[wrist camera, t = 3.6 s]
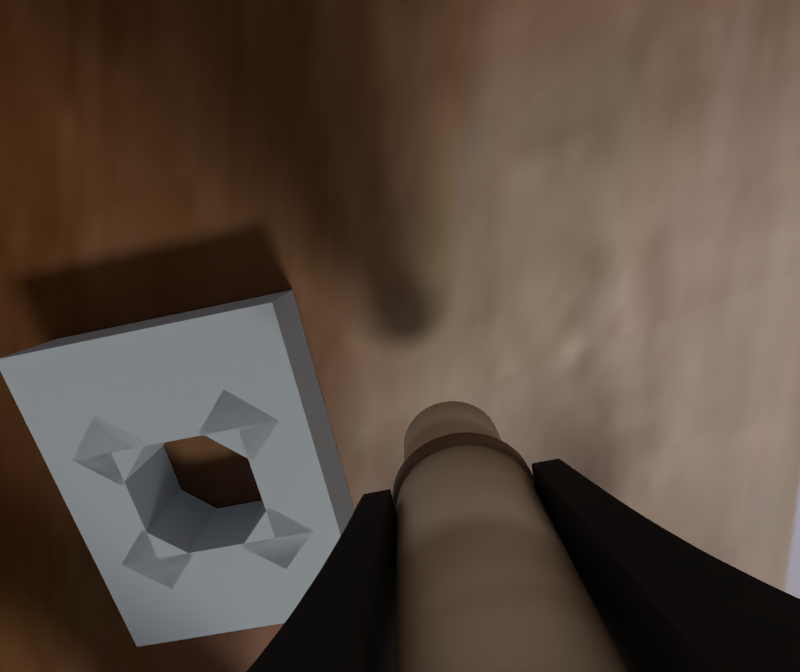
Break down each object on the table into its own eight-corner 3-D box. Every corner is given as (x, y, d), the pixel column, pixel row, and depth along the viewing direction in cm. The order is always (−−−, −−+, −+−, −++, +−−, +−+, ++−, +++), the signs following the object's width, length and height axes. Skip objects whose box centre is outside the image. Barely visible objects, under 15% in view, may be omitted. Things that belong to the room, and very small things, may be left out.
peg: (515, 483, 13) (702, 898, 5) (406, 502, 13) (416, 933, 5) (500, 381, 12) (696, 685, 4) (383, 403, 12) (351, 738, 4)
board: (367, 559, 18) (362, 609, 15) (170, 593, 18) (136, 646, 16) (292, 289, 15) (272, 302, 12) (56, 338, 15) (-6, 360, 13)
